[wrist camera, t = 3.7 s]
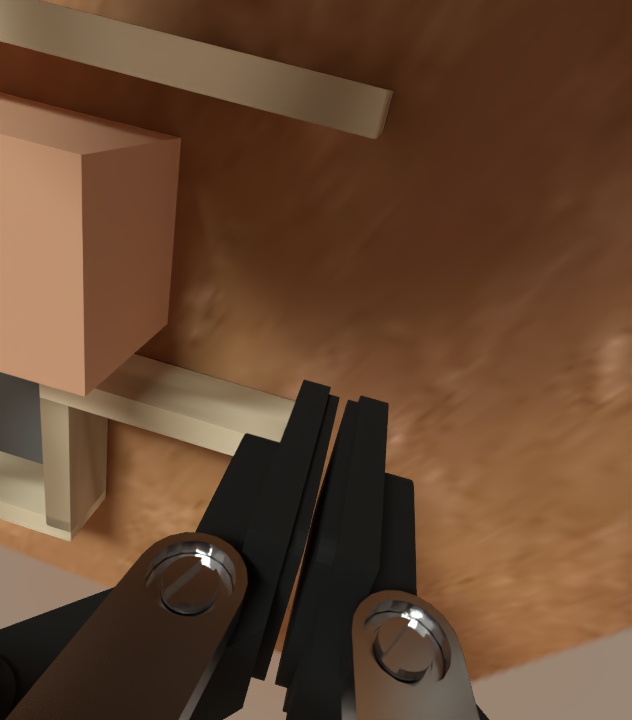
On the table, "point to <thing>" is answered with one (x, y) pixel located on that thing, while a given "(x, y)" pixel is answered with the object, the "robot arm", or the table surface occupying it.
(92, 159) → the terracotta block
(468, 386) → the table surface
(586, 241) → the table surface
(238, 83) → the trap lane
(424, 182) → the table surface
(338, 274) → the table surface
